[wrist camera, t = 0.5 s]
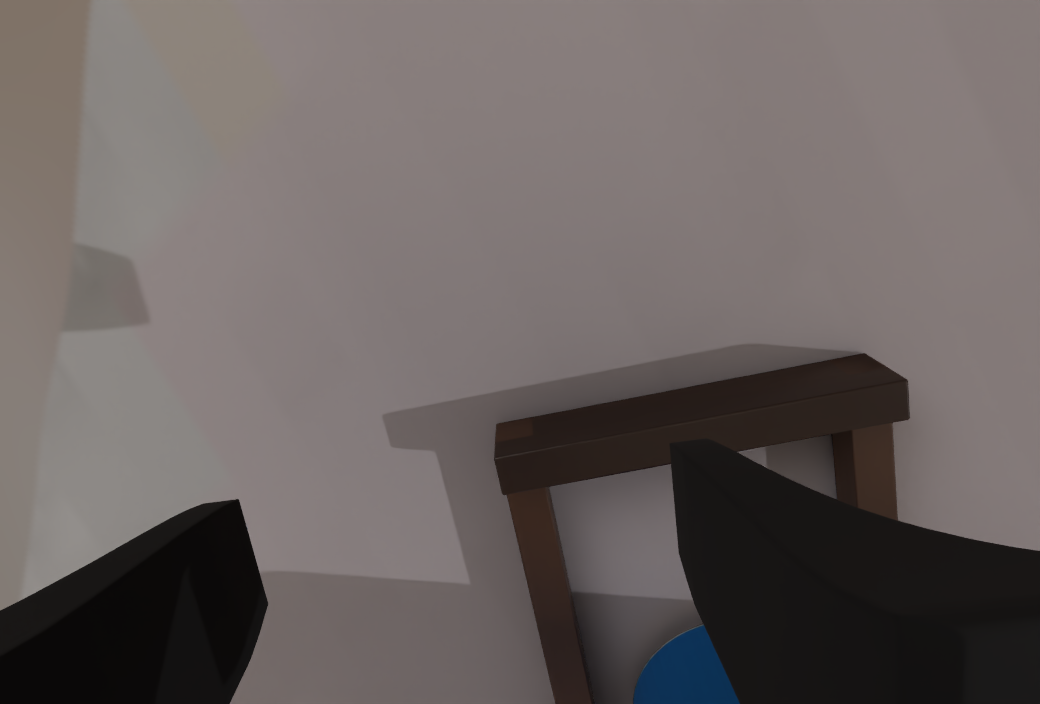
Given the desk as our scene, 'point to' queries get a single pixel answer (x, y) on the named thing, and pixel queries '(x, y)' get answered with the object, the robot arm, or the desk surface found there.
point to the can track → (645, 444)
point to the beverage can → (685, 673)
